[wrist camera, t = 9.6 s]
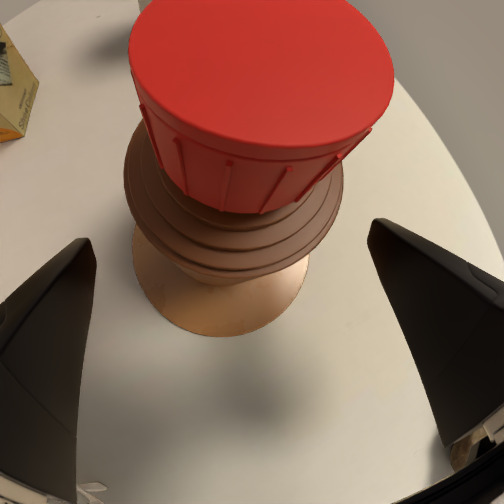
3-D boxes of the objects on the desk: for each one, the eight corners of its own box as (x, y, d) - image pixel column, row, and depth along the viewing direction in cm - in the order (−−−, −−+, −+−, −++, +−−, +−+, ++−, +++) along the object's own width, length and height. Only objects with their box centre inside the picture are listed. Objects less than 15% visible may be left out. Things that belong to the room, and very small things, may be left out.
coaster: (340, 254, 19) (342, 253, 18) (215, 371, 17) (215, 373, 16) (229, 134, 19) (230, 130, 18) (101, 238, 17) (98, 237, 16)
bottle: (301, 232, 18) (479, 114, 5) (218, 310, 17) (255, 374, 3) (226, 153, 18) (265, -57, 5) (141, 224, 17) (10, 68, 4)
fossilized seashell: (484, 366, 17) (416, 478, 16) (553, 396, 11) (476, 514, 11) (492, 367, 21) (440, 457, 21) (545, 390, 15) (488, 484, 15)
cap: (360, 145, 7) (433, 74, 4) (238, 256, 6) (267, 221, 3) (248, 44, 7) (269, -47, 4) (120, 125, 6) (79, 32, 3)
